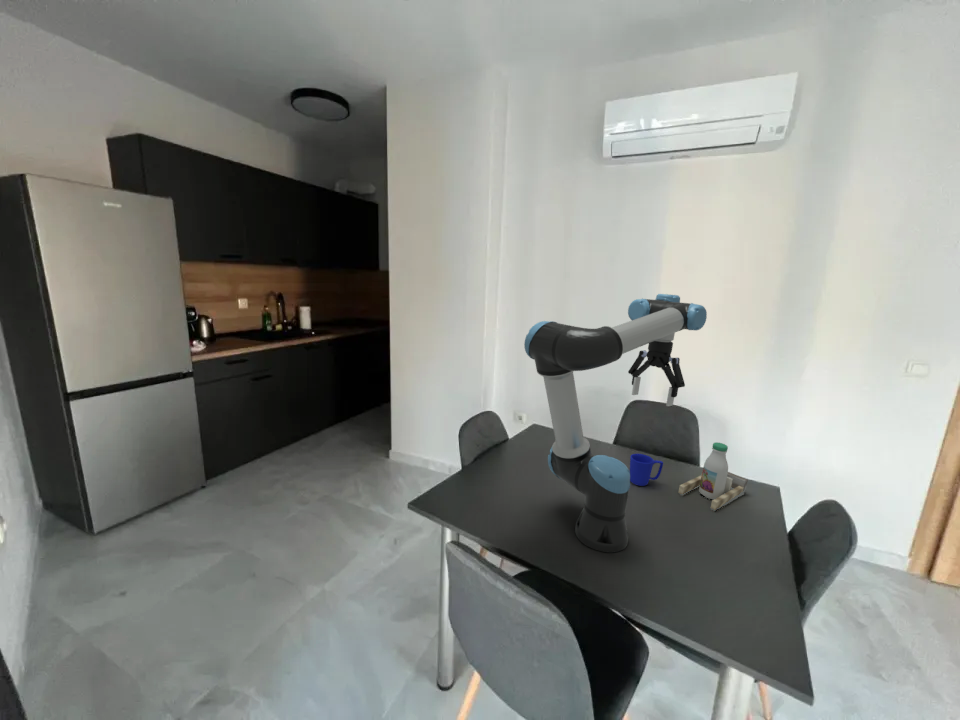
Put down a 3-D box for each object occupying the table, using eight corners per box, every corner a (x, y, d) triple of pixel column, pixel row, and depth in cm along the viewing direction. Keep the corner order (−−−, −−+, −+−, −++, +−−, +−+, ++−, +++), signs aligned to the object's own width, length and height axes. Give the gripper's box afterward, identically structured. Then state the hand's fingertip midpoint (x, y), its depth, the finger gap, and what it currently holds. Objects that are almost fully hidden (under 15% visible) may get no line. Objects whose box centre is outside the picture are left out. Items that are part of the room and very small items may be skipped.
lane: (714, 511, 139) (717, 495, 137) (678, 494, 149) (680, 479, 148) (744, 494, 151) (747, 479, 150) (709, 479, 162) (711, 465, 160)
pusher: (727, 497, 148) (731, 479, 146) (703, 486, 155) (706, 469, 153) (733, 494, 150) (736, 476, 149) (708, 483, 157) (711, 466, 156)
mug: (663, 489, 152) (668, 464, 150) (631, 487, 152) (634, 462, 150) (655, 478, 160) (658, 454, 158) (624, 476, 160) (627, 452, 158)
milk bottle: (716, 491, 152) (726, 441, 148) (726, 502, 145) (737, 450, 141) (694, 488, 153) (704, 439, 149) (703, 500, 146) (714, 448, 141)
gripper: (703, 346, 131) (691, 409, 135) (636, 334, 151) (628, 389, 155) (690, 347, 127) (679, 412, 131) (623, 334, 147) (615, 391, 151)
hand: (651, 400), depth 143 cm, fingers open, 13 cm apart
